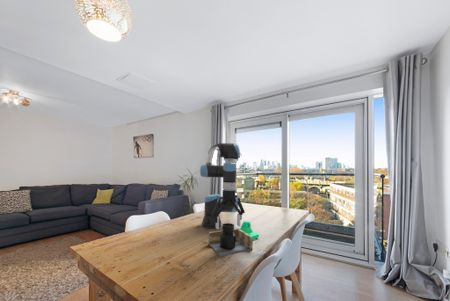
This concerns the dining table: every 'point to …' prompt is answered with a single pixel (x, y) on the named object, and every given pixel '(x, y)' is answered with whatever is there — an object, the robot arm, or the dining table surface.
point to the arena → (242, 242)
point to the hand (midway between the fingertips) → (228, 227)
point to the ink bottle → (227, 236)
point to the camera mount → (248, 229)
